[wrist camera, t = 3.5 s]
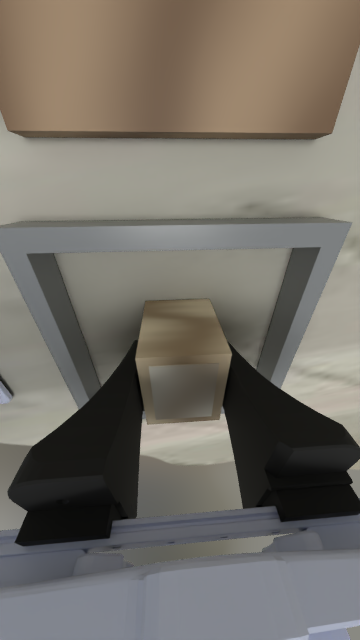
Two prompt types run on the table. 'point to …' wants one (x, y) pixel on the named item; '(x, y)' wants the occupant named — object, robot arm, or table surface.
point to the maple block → (182, 361)
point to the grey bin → (161, 235)
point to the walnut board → (176, 67)
